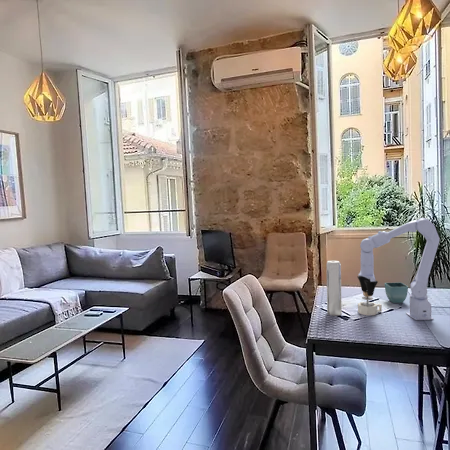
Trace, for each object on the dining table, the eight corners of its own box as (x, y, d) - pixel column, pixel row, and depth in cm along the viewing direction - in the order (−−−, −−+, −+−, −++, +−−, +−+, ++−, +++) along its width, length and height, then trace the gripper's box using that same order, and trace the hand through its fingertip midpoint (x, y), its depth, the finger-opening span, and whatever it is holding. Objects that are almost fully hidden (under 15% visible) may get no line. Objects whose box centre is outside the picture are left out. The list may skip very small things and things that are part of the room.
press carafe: (384, 314, 182) (384, 306, 182) (362, 315, 182) (362, 307, 182) (377, 309, 190) (377, 301, 190) (356, 310, 190) (356, 302, 190)
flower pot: (408, 304, 196) (408, 286, 196) (390, 304, 197) (390, 286, 196) (401, 299, 205) (401, 282, 204) (384, 299, 205) (384, 282, 205)
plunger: (374, 305, 183) (374, 293, 183) (364, 306, 183) (364, 293, 183) (370, 303, 188) (370, 290, 187) (360, 303, 188) (360, 290, 187)
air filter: (342, 315, 183) (341, 262, 181) (327, 315, 184) (326, 262, 182) (341, 311, 189) (340, 259, 187) (327, 311, 190) (326, 260, 188)
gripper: (353, 262, 191) (353, 289, 192) (364, 268, 177) (364, 297, 178) (368, 261, 191) (368, 289, 192) (379, 267, 177) (379, 297, 178)
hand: (367, 293), depth 185 cm, fingers open, 7 cm apart
